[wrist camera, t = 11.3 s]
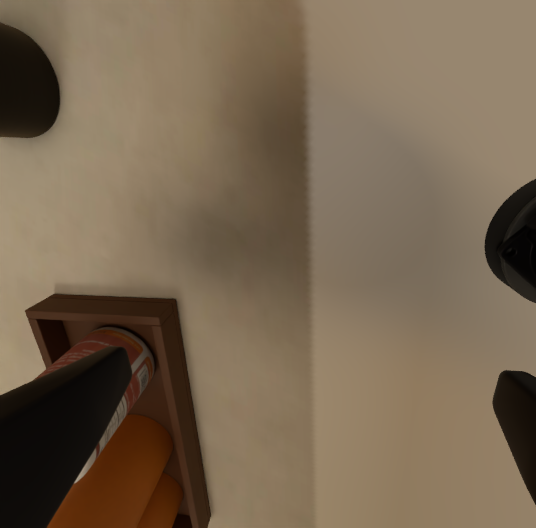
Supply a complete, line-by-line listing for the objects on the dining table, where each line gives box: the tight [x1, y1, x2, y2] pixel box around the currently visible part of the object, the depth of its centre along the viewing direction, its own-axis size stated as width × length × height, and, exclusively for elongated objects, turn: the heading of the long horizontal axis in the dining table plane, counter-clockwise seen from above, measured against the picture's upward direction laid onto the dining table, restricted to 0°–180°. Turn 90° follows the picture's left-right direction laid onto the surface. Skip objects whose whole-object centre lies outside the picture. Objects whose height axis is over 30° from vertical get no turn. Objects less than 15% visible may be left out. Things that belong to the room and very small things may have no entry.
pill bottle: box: [34, 327, 155, 484], centre depth 19 cm, size 6×6×11 cm
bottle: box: [47, 415, 173, 528], centre depth 23 cm, size 6×6×11 cm
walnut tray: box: [25, 294, 211, 528], centre depth 27 cm, size 26×10×3 cm, turn 2°
